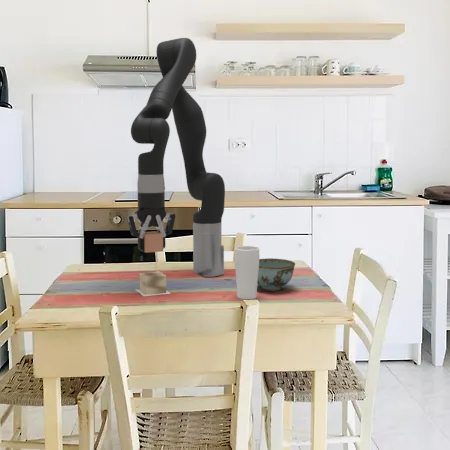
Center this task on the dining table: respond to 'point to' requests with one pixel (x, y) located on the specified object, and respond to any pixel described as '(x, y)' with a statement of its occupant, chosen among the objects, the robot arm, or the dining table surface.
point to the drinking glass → (247, 271)
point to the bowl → (274, 273)
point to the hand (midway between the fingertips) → (151, 250)
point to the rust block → (153, 242)
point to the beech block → (152, 283)
